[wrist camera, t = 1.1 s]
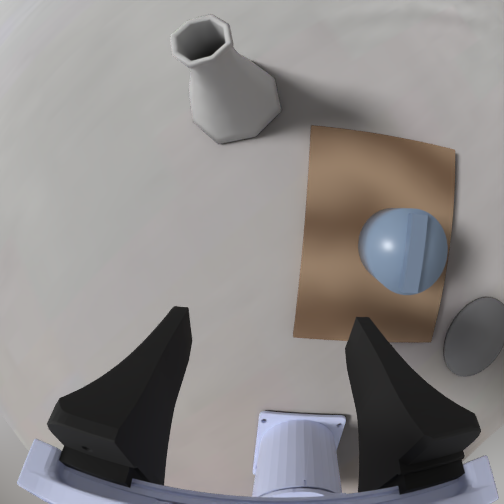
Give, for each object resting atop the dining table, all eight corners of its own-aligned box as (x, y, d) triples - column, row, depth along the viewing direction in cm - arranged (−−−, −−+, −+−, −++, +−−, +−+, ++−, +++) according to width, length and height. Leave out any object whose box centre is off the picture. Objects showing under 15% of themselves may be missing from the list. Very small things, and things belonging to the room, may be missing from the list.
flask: (175, 89, 22) (117, 34, 13) (253, 48, 21) (232, -28, 11) (214, 160, 23) (164, 130, 13) (297, 116, 22) (303, 57, 12)
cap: (419, 283, 19) (444, 299, 15) (353, 278, 20) (368, 295, 16) (428, 212, 19) (456, 214, 15) (361, 203, 19) (379, 203, 15)
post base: (427, 338, 23) (441, 353, 20) (293, 333, 24) (293, 349, 21) (450, 151, 20) (468, 145, 17) (310, 127, 22) (314, 116, 19)
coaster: (492, 371, 22) (494, 373, 22) (433, 377, 23) (435, 379, 23) (514, 297, 21) (516, 298, 21) (455, 295, 22) (457, 296, 22)
